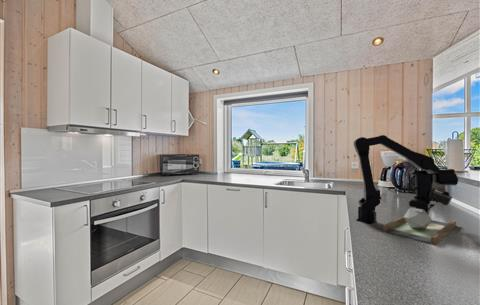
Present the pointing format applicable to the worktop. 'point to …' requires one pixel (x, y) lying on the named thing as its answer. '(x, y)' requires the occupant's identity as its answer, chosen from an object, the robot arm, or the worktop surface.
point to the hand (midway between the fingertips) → (425, 220)
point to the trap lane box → (420, 230)
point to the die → (417, 218)
